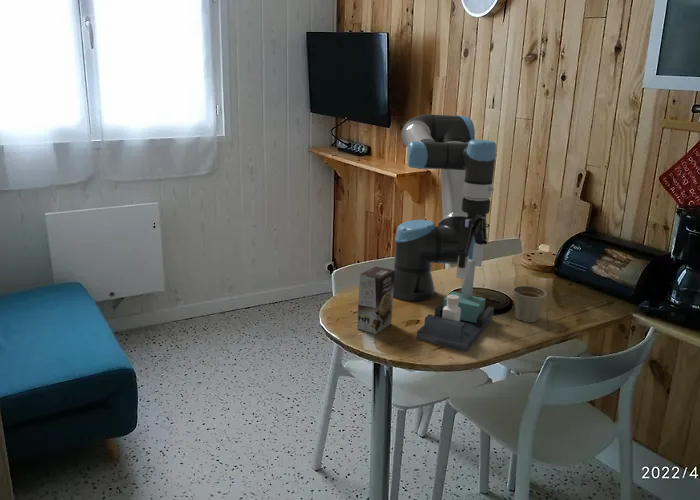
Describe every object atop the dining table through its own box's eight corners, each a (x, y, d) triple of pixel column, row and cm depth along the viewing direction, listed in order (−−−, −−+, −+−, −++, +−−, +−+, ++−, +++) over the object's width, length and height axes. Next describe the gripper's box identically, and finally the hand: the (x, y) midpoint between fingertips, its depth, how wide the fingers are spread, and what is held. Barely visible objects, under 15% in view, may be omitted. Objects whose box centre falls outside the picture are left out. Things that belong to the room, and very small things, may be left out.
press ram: (442, 315, 174) (447, 261, 169) (450, 307, 179) (455, 255, 175) (476, 323, 169) (482, 268, 164) (483, 314, 175) (489, 262, 170)
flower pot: (525, 327, 173) (528, 299, 171) (502, 315, 181) (506, 288, 179) (549, 322, 178) (553, 294, 175) (526, 310, 186) (530, 283, 183)
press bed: (416, 338, 163) (417, 316, 161) (447, 309, 184) (448, 289, 182) (466, 351, 157) (468, 328, 155) (492, 320, 177) (495, 299, 175)
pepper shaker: (446, 325, 168) (449, 292, 165) (459, 328, 166) (463, 296, 163) (440, 329, 164) (443, 297, 162) (454, 333, 162) (457, 300, 160)
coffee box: (376, 334, 165) (379, 278, 160) (356, 328, 168) (358, 273, 163) (392, 323, 172) (395, 269, 167) (372, 318, 175) (375, 265, 171)
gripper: (476, 207, 153) (468, 287, 159) (502, 192, 174) (494, 263, 180) (447, 203, 157) (441, 281, 163) (477, 189, 178) (470, 258, 184)
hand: (469, 272), depth 172 cm, fingers open, 13 cm apart
